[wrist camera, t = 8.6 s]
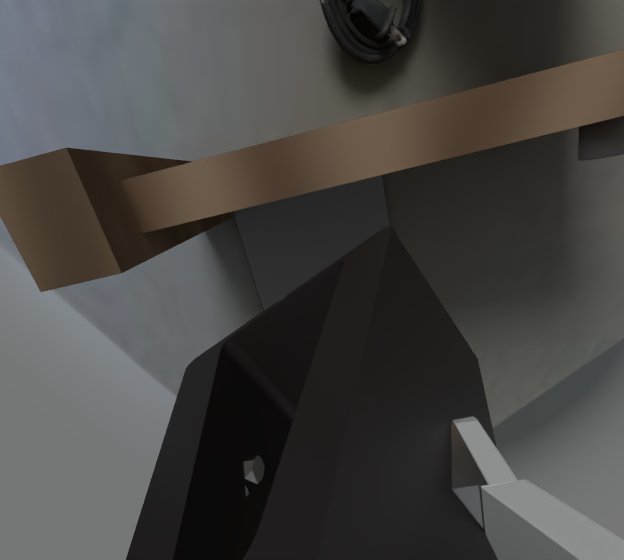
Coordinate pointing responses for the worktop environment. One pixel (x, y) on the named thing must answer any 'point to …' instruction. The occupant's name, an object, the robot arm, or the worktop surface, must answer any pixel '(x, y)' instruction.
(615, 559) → the robot arm
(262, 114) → the worktop surface
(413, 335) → the phone stand
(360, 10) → the milk frother
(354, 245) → the door mat
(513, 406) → the worktop surface
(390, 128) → the door panel
